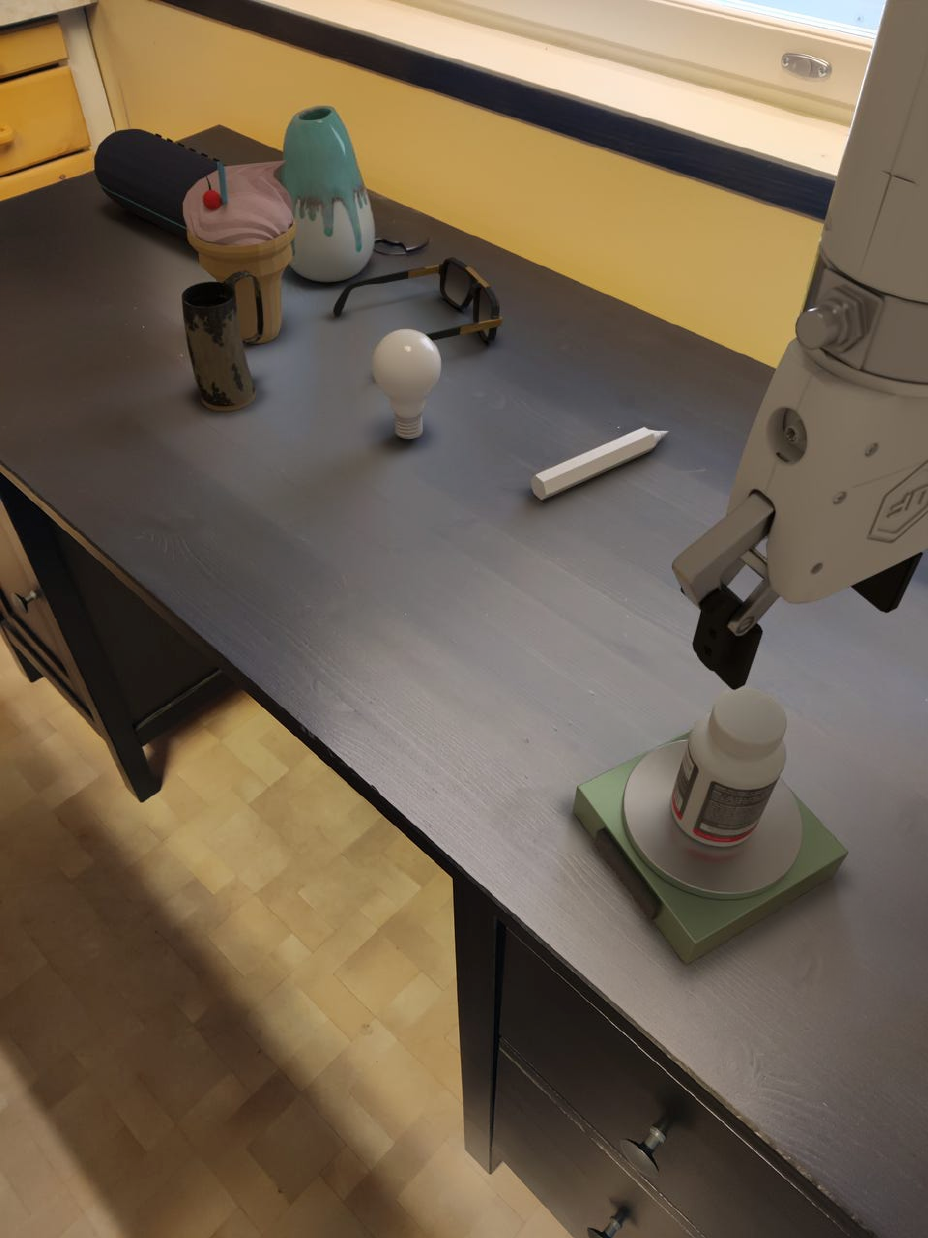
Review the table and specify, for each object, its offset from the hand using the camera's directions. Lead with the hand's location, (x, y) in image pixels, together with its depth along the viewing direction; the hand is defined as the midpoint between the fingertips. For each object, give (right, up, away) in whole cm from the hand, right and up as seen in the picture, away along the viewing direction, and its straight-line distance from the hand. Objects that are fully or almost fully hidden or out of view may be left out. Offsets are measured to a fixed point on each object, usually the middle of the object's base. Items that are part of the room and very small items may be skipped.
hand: (794, 629), depth 45 cm
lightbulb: (-22, +18, +45) cm, 53 cm away
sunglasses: (-21, +33, +58) cm, 70 cm away
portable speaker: (-52, +51, +75) cm, 105 cm away
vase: (-33, +43, +68) cm, 87 cm away
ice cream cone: (-39, +32, +58) cm, 77 cm away
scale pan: (-1, -12, +13) cm, 17 cm away
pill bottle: (-1, -12, +12) cm, 17 cm away
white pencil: (-3, +15, +42) cm, 45 cm away
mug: (-39, +24, +50) cm, 68 cm away
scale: (-1, -14, +15) cm, 20 cm away
